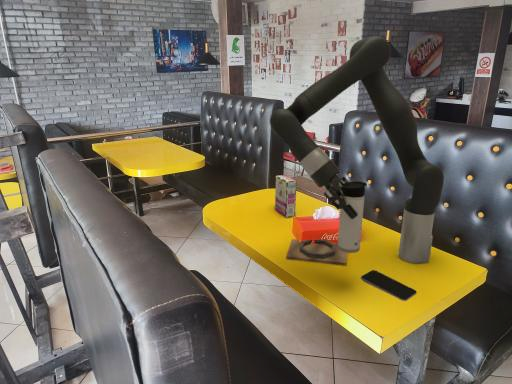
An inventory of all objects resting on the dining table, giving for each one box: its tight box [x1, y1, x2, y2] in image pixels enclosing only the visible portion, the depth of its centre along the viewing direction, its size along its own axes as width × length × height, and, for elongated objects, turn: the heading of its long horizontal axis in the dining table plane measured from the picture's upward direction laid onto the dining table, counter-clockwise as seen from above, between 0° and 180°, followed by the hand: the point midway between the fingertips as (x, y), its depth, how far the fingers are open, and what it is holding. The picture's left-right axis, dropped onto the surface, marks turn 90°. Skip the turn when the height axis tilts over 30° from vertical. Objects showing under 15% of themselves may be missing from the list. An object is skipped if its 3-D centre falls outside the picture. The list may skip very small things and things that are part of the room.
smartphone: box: [360, 269, 418, 302], centre depth 110 cm, size 7×1×15 cm
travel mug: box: [337, 180, 368, 254], centre depth 104 cm, size 6×7×20 cm
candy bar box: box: [274, 174, 298, 219], centre depth 163 cm, size 11×5×16 cm, turn 23°
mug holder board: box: [285, 238, 348, 266], centre depth 129 cm, size 20×14×2 cm
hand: (358, 212), depth 103 cm, fingers closed on travel mug, 6 cm apart
